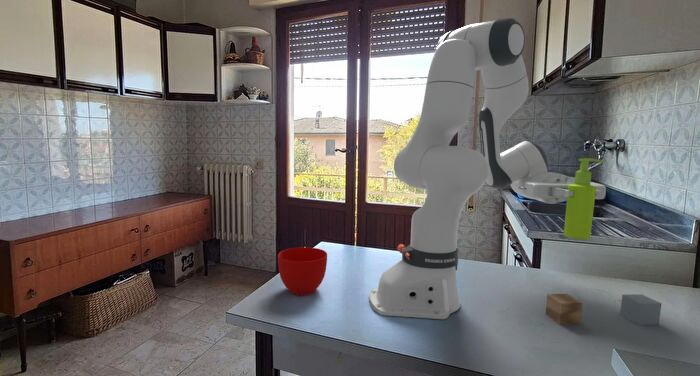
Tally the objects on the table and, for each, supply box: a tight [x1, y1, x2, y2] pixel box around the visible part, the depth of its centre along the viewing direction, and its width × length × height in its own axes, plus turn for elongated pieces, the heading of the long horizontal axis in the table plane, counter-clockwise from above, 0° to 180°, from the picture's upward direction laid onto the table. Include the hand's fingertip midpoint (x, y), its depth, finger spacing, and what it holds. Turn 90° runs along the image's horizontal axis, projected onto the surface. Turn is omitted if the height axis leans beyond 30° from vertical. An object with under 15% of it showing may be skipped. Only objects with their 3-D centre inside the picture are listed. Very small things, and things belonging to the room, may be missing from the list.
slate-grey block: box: [619, 293, 663, 326], centre depth 84 cm, size 5×5×5 cm
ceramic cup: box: [277, 246, 328, 296], centre depth 98 cm, size 13×17×10 cm
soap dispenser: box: [563, 157, 605, 240], centre depth 92 cm, size 6×7×20 cm
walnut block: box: [545, 293, 583, 325], centre depth 83 cm, size 5×5×5 cm
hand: (584, 194), depth 91 cm, fingers closed on soap dispenser, 6 cm apart
